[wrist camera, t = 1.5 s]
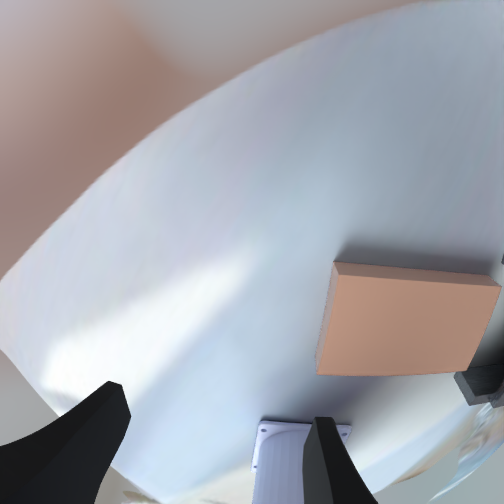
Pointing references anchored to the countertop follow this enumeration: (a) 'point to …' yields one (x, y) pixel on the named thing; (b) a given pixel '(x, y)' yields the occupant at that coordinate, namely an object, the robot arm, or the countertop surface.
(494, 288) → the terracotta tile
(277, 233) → the countertop surface
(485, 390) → the low gray notched block
